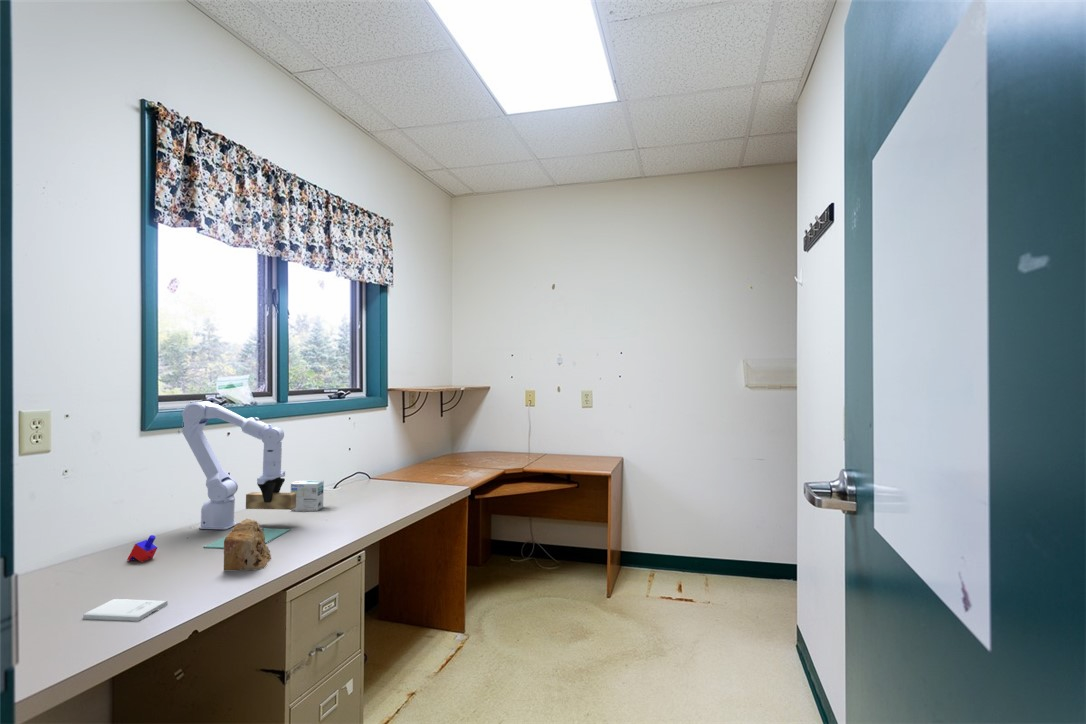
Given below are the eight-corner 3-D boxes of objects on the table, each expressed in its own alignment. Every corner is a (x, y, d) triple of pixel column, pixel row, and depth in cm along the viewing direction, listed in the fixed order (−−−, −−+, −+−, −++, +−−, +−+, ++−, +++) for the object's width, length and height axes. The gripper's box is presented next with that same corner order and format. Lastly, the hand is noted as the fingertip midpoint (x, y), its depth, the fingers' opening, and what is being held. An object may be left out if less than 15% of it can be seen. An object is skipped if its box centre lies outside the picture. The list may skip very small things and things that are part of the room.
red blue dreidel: (138, 567, 146) (151, 542, 146) (126, 559, 147) (139, 534, 147) (149, 563, 150) (162, 538, 150) (138, 555, 150) (150, 531, 150)
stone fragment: (258, 572, 154) (231, 529, 155) (289, 552, 155) (262, 509, 156) (232, 589, 140) (202, 542, 141) (266, 567, 141) (236, 519, 142)
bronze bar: (245, 508, 183) (246, 494, 183) (251, 506, 186) (251, 492, 186) (290, 509, 182) (291, 495, 182) (295, 507, 186) (296, 492, 186)
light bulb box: (323, 507, 210) (324, 480, 211) (317, 511, 203) (318, 483, 204) (296, 507, 210) (297, 479, 210) (289, 511, 203) (290, 483, 203)
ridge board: (203, 548, 159) (203, 541, 159) (243, 528, 179) (243, 523, 179) (255, 549, 158) (255, 543, 158) (289, 530, 178) (289, 524, 178)
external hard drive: (115, 605, 121) (167, 606, 120) (82, 621, 113) (138, 623, 112) (115, 597, 121) (167, 599, 120) (83, 614, 113) (139, 615, 112)
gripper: (272, 465, 177) (270, 506, 177) (293, 459, 192) (292, 496, 191) (251, 465, 178) (250, 505, 177) (274, 458, 192) (273, 495, 192)
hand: (270, 500), depth 184 cm, fingers closed on bronze bar, 3 cm apart
